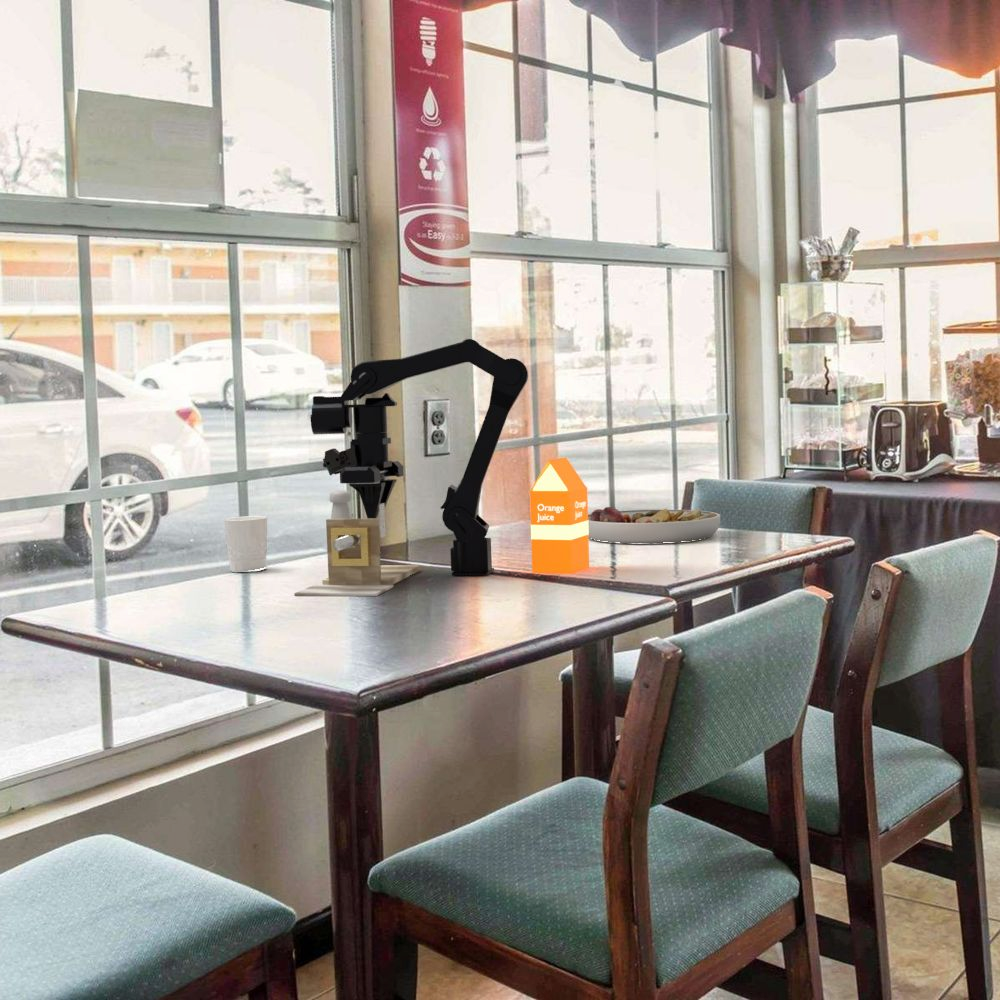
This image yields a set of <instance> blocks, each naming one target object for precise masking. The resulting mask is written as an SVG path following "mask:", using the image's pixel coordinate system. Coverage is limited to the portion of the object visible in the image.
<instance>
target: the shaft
mask: <svg viewBox="0 0 1000 1000" xmlns="http://www.w3.org/2000/svg"><path fill="white" fill-rule="evenodd" d="M362 506H363V505H362ZM362 509H363V519H368V518H367V515H366V512H365V509H364V506H363V508H362ZM385 509H386V507H385V503H380V505H379V509H378V513H377V516H376V518H379V539H382V538H385V537H386V535H387V533H386V531H387V530H386V510H385ZM357 544H360V535H347V536H344V537H341V538H338V539H336V540H334V541H333V548H334V549H335V550H336V551H341V550H344V549H346V548H349V547H352V546H354V545H357Z"/></svg>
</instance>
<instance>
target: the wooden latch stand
mask: <svg viewBox="0 0 1000 1000" xmlns="http://www.w3.org/2000/svg"><path fill="white" fill-rule="evenodd" d="M325 522H326V523H325V525H326V547H327V548H326V549H327V551H326V553H327V569H328V570H327V573H328V574H327V575H328V577H327V578H325V579H323V580H322V584H313V585H311V586H308V587H306V588H304V589H301V590H299V591H297V592H294V593H293V595H294V596H295V597H297V596H299V597H316V596H317V597H378V596H379V595H381V594H383V593H385V592H387V591H389V590H391V589H392V588H394V585H395V584H397V583H398V582H401V581H403V580H405V579H406V578H409V577H411V576H412V574H413V575H414V574H416V573H419V572H420V571H421V568H420V565H418V564H417V565H413V564H412V565H411V564H410V565H407V564H406V565H405V564H404V565H403V564H401V565H398V564H395V565H394V564H393V565H385V564H382V565H381V542H380V541H381V540H380V539H381V538H379V518H375V519H364V518H351V519H331V518H326V519H325ZM333 527H370V545H371V565H369V566H332V549H331V528H333ZM344 536H346V535H341V537H344ZM341 554H342V558H361V537H360V544H357V545H355V547H354V548H346V549H344V550H341ZM410 575H411V576H410Z"/></svg>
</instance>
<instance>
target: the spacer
mask: <svg viewBox="0 0 1000 1000" xmlns="http://www.w3.org/2000/svg"><path fill="white" fill-rule="evenodd" d="M341 535H360V537H361V558H342V554H341V551H336V550H335V549H334V548H333V541H334V540H336V539H338V538H341ZM331 549H332V566H369V565H371V545H370V527H333V528H331Z"/></svg>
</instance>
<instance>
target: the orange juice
mask: <svg viewBox="0 0 1000 1000" xmlns="http://www.w3.org/2000/svg"><path fill="white" fill-rule="evenodd" d="M529 499H530V500H529V501H530V502H529V504H530V506H529V508H530V540H531V568H532V569H531V570H532V573H533V574H535V573H536V574H558V575H559V574H561V575H562V574H563V575H572V574H575V573H578V572H581V571H583V570H586V569H589V568H590V552H589V551H590V548H589V547H590V545H589V541H590V538H589V537H588V534H589V527H588V514H589V507H588V505H589V503H588V487H587V486H586V485H585V483H584V482H583V479H581V477H580V476H579V474H578V473H577V471H576V469H575V468H574V467H573V466H572V464H571V463H570V461H569V459H568V457H567V456H565V457H560V458H559V457H558V458H553V459H549V460H548V461H547V462H546V464H545V466H544V467H543V469H542V471H541V473H539V476H537V479H536V481H535V482H534V484H533V485H532V487H531V488H530V490H529Z"/></svg>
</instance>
